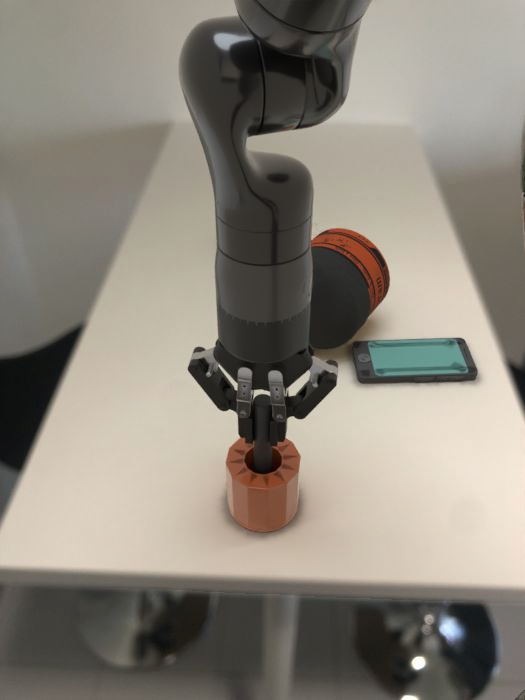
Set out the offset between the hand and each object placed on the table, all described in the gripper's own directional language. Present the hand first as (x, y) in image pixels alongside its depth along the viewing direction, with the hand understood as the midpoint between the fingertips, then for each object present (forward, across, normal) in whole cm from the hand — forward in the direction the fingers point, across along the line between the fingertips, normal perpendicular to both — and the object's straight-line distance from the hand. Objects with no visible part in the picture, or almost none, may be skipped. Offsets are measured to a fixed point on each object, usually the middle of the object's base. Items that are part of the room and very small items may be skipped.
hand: (263, 438), depth 64 cm
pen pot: (+10, 0, 0) cm, 10 cm away
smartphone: (+10, +16, +24) cm, 31 cm away
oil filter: (+10, +4, +30) cm, 31 cm away
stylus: (+9, 0, 0) cm, 9 cm away
